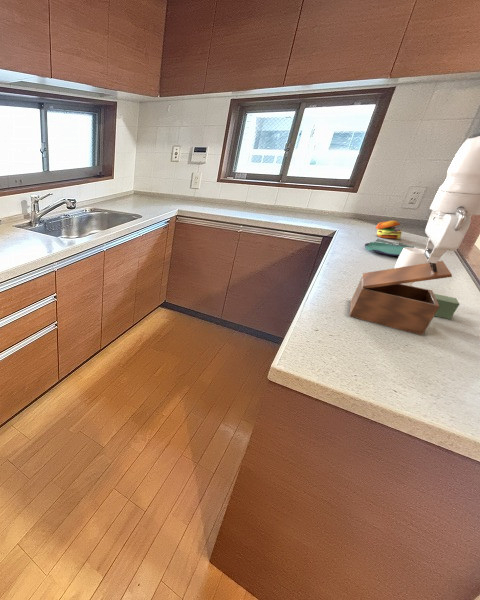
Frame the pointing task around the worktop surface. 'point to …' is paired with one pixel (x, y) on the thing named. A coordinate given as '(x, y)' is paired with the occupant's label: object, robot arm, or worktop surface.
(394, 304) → the chest
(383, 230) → the cheeseburger
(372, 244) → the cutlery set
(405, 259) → the white tapered cylinder
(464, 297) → the worktop surface
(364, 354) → the worktop surface
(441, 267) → the lid
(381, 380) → the worktop surface
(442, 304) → the block
